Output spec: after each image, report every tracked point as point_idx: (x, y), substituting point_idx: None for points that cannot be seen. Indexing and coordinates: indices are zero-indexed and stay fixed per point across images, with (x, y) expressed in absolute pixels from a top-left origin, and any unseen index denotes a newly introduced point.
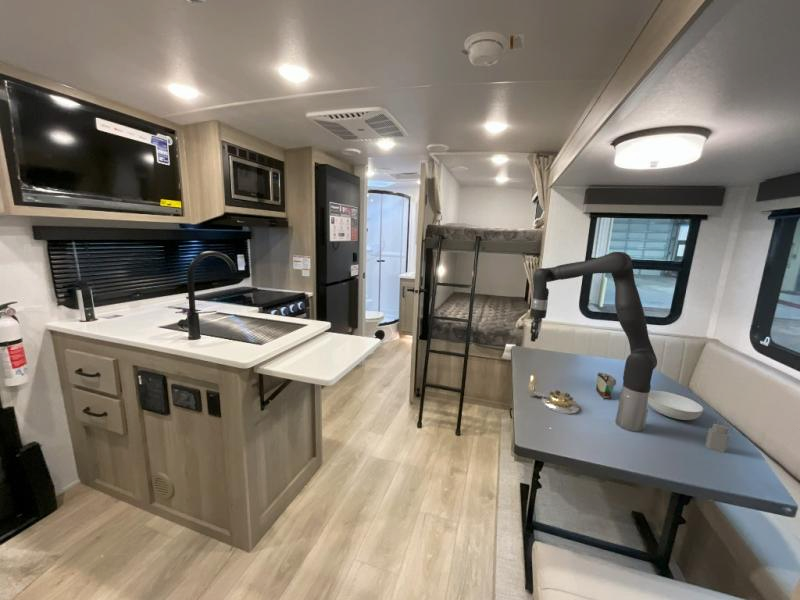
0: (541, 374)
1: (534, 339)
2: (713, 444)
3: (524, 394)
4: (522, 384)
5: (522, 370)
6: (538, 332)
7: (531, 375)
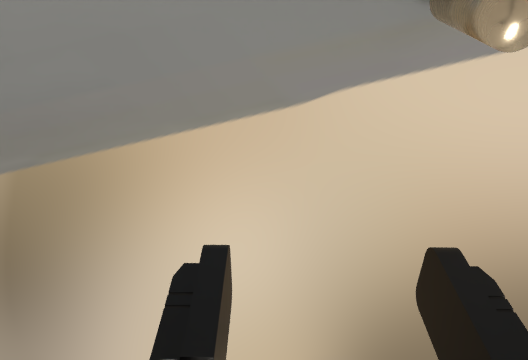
0: (4, 13)
1: (470, 282)
2: None
3: (429, 37)
4: (283, 82)
5: (58, 133)
6: (216, 356)
7: (525, 41)
